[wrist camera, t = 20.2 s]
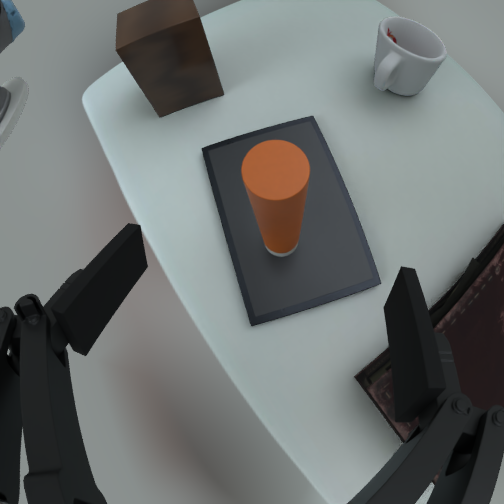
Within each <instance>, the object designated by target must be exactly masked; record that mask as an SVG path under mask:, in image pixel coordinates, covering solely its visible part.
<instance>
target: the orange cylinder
mask: <svg viewBox="0 0 504 504" xmlns="http://www.w3.org/2000/svg"><path fill="white" fill-rule="evenodd" d="M241 174H242V179H243V182H244V185H245V188H246V191H247V194H248V196H249V199H250V202H251V205H252V208H253V211H254V214H255V217H256V220H257V223H258V226H259V229H260V232H261V235H262V238H263V241H264V244H265V247H266V248H267V250H268V251H269V252H270V253H271V254H273V255H275V256H279V257H284V256H288V255H290V254H291V253H293V252H294V251H295V249H296V248H297V245H298V241H299V236H300V230H301V225H302V219H303V213H304V207H305V201H306V195H307V189H308V183H309V177H310V165H309V161H308V159H307V157H306V155H305V154H304V152H303V151H302V150H301V149H300V148H299V147H297V146H296V145H294V144H292V143H290V142H287V141H283V140H268V141H265V142H262V143H260V144H258V145H256V146H254V147H253V148H252V149H251V150H250V151H249V152H248V153H247V155H246V156H245V158H244V160H243V163H242V167H241Z"/></svg>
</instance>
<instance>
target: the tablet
mask: <svg viewBox="0 0 504 504" xmlns="http://www.w3.org/2000/svg"><path fill="white" fill-rule="evenodd" d="M268 140H283V141H287V142H290V143H292V144H294V145H296V146H297V147H299V148H300V149H301V150H302V151H303V152H304V154H305V155H306V157H307V159H308V161H309V165H310V177H309V183H308V189H307V195H306V201H305V207H304V213H303V219H302V225H301V230H300V236H299V241H298V245H297V248H296V249H295V251H294V252H293V253H291V254H290V255H288V256H284V257H279V256H275V255H273V254H271V253H270V252H269V251H268V250H267V248H266V247H265V244H264V241H263V238H262V235H261V232H260V229H259V226H258V223H257V220H256V217H255V214H254V211H253V208H252V205H251V202H250V199H249V196H248V194H247V191H246V188H245V185H244V182H243V179H242V174H241V167H242V163H243V160H244V158H245V156H246V155H247V153H248V152H249V151H250V150H251V149H252V148H253V147H254V146H256V145H258V144H260V143H262V142H265V141H268ZM202 152H203V156H204V160H205V164H206V168H207V171H208V175H209V179H210V182H211V186H212V190H213V194H214V197H215V201H216V205H217V208H218V212H219V215H220V219H221V223H222V226H223V230H224V233H225V237H226V241H227V244H228V248H229V251H230V255H231V258H232V262H233V265H234V269H235V272H236V276H237V279H238V283H239V286H240V290H241V293H242V297H243V300H244V303H245V307H246V310H247V314H248V317H249V320H250V324H251V326H254V325H258V324H261V323H265V322H268V321H272V320H275V319H278V318H282V317H285V316H288V315H291V314H294V313H298V312H301V311H304V310H307V309H310V308H313V307H316V306H319V305H322V304H325V303H328V302H331V301H334V300H337V299H340V298H343V297H346V296H349V295H352V294H354V293H357V292H360V291H363V290H366V289H368V288H371V287H374V286H377V285H379V284H381V281H380V278H379V275H378V272H377V269H376V266H375V263H374V260H373V257H372V254H371V251H370V248H369V245H368V243H367V240H366V237H365V234H364V232H363V229H362V226H361V224H360V221H359V218H358V216H357V213H356V211H355V208H354V206H353V203H352V201H351V198H350V196H349V193H348V191H347V188H346V186H345V184H344V181H343V179H342V177H341V174H340V172H339V170H338V167H337V165H336V163H335V161H334V158H333V156H332V154H331V152H330V150H329V147H328V145H327V143H326V141H325V139H324V137H323V135H322V133H321V131H320V129H319V127H318V124H317V122H316V120H315V118H314V116H310V117H305V118H301V119H297V120H293V121H289V122H286V123H282V124H278V125H274V126H271V127H267V128H264V129H260V130H257V131H253V132H250V133H247V134H243V135H240V136H237V137H234V138H230V139H227V140H224V141H221V142H218V143H215V144H212V145H209V146H206V147H204V148H202Z"/></svg>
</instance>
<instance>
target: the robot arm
mask: <svg viewBox="0 0 504 504" xmlns="http://www.w3.org/2000/svg"><path fill="white" fill-rule="evenodd" d="M24 27H25V22H24V20H23V19H22V17H21V15H20V14H19V12H18V10H17V9H16V7H15V5H14V4H13V2H12V0H0V53H1V52H2V51H3V50H4V49H5V48H6V47H7V46H8V45H9V44H10V43H12V42H13V41H14V40H15V38H16V37H17V36H18V35H19V34H20V33H21V32H22V31H23V29H24ZM10 100H11V93H10V92H9V91H8V90H7V89H6V88H4V87H1V86H0V123H1V121H2V119H3V117H4V115H5V113H6V111H7V109H8V106H9V103H10ZM147 267H148V265H147V260H146V255H145V249H144V244H143V238H142V232H141V226H140V225H137V224H130V223H128V224H127V225H126V226H125V227H124V228H123V229H122V230H121V231H120V232H119V233H118V234H117V235H116V236H115V237H114V238H113V239H112V240H111V241H110V242H109V243H108V244H107V245H106V246H105V247H104V248H103V249H102V250H101V252H100V253H99V254H98V255H97V256H96V257H95V258H94V259H93V260H92V261H91V262H90V263H89V264H88V265H87V266H86V268H85V269H84V270H82V269H79V270H78V271H76V272H75V273H73V274H72V275H71V276H70V277H69V278H68V279H67V280H66V281H65V283H63V285H62V286H61V287H60V289H58V290H57V292H56V293H55V294H54V295H53V296H52V297H51V298H50V300H49V301H48V302H47V303H46V304H45V305H44V307H43V306H42V304H41V302H40V300H39V298H38V297H37V296H36V295H34V294H27V295H25V296H23V297H21V298H20V299H19V300H18V301H17V302H16V304H15V306H14V309H15V311H16V313H17V315H14V313H13V311H12V310H11V309H10V308H9V307H2V308H0V504H18V501H19V490H20V451H21V437H22V426H23V433H24V441H25V448H26V455H27V461H28V465H29V473H28V474H27V475H26V476H25V477H24V480H23V481H24V489H25V493H26V497H27V501H28V504H107V502H106V500H105V498H104V496H103V494H102V493H101V492H100V490H99V489H98V488H97V486H96V484H95V481H94V478H93V475H92V472H91V468H90V465H89V462H88V458H87V455H86V451H85V447H84V443H83V439H82V435H81V430H80V426H79V422H78V417H77V412H76V407H75V401H74V396H73V389H72V383H71V377H70V368H69V360H68V352H67V350H66V348H65V347H66V346H67V345H68V343H69V344H70V345H71V347H72V349H73V350H74V351H75V352H77V353H80V354H82V355H84V356H86V355H87V354H88V352H89V351H90V349H91V348H92V346H93V344H94V343H95V341H96V339H97V338H98V337H99V335H100V334H101V332H102V331H103V329H104V328H105V326H106V325H107V323H108V322H109V321H110V319H111V318H112V316H113V315H114V313H115V312H116V310H117V309H118V308H119V306H120V305H121V303H122V302H123V300H124V299H125V297H126V296H127V295H128V293H129V292H130V291H131V289H132V288H133V286H134V285H135V284H136V282H137V281H138V280H139V278H140V277H141V275H142V274H143V273H144V271H145V270H146V268H147ZM384 314H385V320H386V327H387V335H388V343H389V351H390V360H391V370H392V381H393V394H394V411H395V422H404V423H405V422H412V421H414V420H415V419H416V418H417V417H418V418H419V424H418V425H417V426H416V427H415V428H414V429H413V430H411V431H410V432H409V433H408V434H407V435H409V436H408V438H407V439H406V440H405V442H404V443H403V444H402V445H401V447H400V448H399V449H398V450H397V451H396V453H395V454H394V455H393V456H392V457H391V459H390V460H389V461H388V462H387V463H386V464H385V465H384V467H383V468H382V469H381V470H380V471H379V472H378V473H377V474H376V475H375V476H374V477H373V478H372V480H371V481H370V482H369V483H368V484H367V485H366V486H365V487H364V488H363V489H362V490H361V491H360V492H359V493H358V494H357V495H356V496H355V497H354V498H353V499H352V500H350V501H349V502H348V503H347V504H415V503H416V502H417V500H418V499H419V498H420V496H421V495H422V494H423V493H424V491H425V490H426V489H427V487H428V486H429V484H430V483H431V482H432V480H433V479H434V477H435V476H436V474H437V473H438V472H439V470H440V469H441V467H442V466H443V467H442V469H441V472H440V474H439V477H438V479H437V482H436V484H435V486H434V489H433V491H432V493H431V495H430V497H429V500H428V502H427V504H489V503H490V500H491V497H492V494H493V491H494V488H495V485H496V481H497V478H498V473H499V470H500V466H501V462H502V458H503V453H504V408H503V407H502V406H500V405H494V406H492V407H491V408H489V409H488V410H484V409H481V408H478V407H475V406H472V403H471V401H470V399H469V398H468V397H467V396H466V395H465V394H463V393H462V392H461V389H460V384H459V379H458V375H457V370H456V366H455V363H454V358H453V355H452V350H451V347H450V343H449V341H448V340H447V338H446V337H445V335H444V334H443V333H436V332H434V330H433V326H432V322H431V319H430V315H429V312H428V308H427V305H426V302H425V298H424V295H423V292H422V289H421V286H420V283H419V280H418V277H417V274H416V271H415V269H413V268H407V267H401V268H400V270H399V273H398V275H397V278H396V280H395V283H394V285H393V287H392V290H391V292H390V294H389V297H388V299H387V301H386V303H385V306H384ZM8 349H9V350H10V353H9V355H7V351H8Z"/></svg>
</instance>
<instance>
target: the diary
mask: <svg viewBox="0 0 504 504" xmlns="http://www.w3.org/2000/svg"><path fill="white" fill-rule="evenodd" d="M428 312H429V315H430V319H431V322H432V326H433V330H434V332H436V333H443V334H444V335H445V337H446V338H447V340H448V341H449V343H450V347H451V350H452V355H453V358H454V363H455V366H456V370H457V375H458V379H459V384H460V389H461V392H462V393H463V394H465V395H466V396H467V397H468V398H469V399H470V401H471V403H472V406H475V407H478V408H481V409H484V410H488V409H489V408H491V407H492V406H494V405H500V406H502V407H503V408H504V224H503V225H502V227H501V228H500V229H499V231H498V232H497V233H496V235H495V236H494V237H493V238H492V240H491V241H490V242H489V243H488V245H487V246H486V247H485V248H484V249H483V251H482V252H481V253H480V255H479V256H478V257H477V258H476V260H475V259H474V258H472V260H471V262H470V264H469V266H468V268H467V270H466V272H465V273H464V274H463V275H462V277H461V278H460V279H459V280H458V281H457V282H456V284H455V285H454V286H453V287H452V288H451V289H450V290H449V291H448V292H447V293H446V294H445V295H444V296H443V297H442V298H441V299H440V300H439V301H438V302H437V303H436V304H435V305H434V306H433V307H432V308H431V309H430V310H429V311H428ZM354 377H355V378H356V380H357V381H358V382H359V384H360V385H361V386H362V388H363V389H364V391H365V392H366V393H367V395H368V396H369V397H370V399H371V400H372V401H373V403H374V404H375V405H376V407H377V408H378V409H379V411H380V412H381V413H382V415H383V416H384V418H385V419H386V420H387V422H388V423H389V424H390V426H391V427H392V428H393V430H394V431H395V432H396V434H397V435H398V436H399V438H400V439H401V441H402V442H403V443H404V442H405V440H406V439H407V438H408V436H409V435H407V434H408V433H409V432H410V431H411V430H413V429H414V428H415V427H416V426H417V425H418V424H419V418H418V417H417V418H416V419H415V420H414V421H412V422H405V423H404V422H395V411H394V394H393V381H392V370H391V360H390V351H389V348H387V349H386V350H385V351H384V352H383V353H382V354H381V355H380V356H378V357H377V358H376V359H375V360H374V361H373V362H371V363H370V364H369V365H368V366H367V367H365V368H364V369H363V370H362V371H360V372H359V373H358V374H357V375H355V376H354ZM442 467H443V466H442ZM442 467H441V469H442ZM441 469H440V470H439V472H438V473H437V474H436V476H435V477H434V479H433V480H432V483H433V484H434V485H435V484H436V482H437V479H438V477H439V474H440V472H441Z"/></svg>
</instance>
